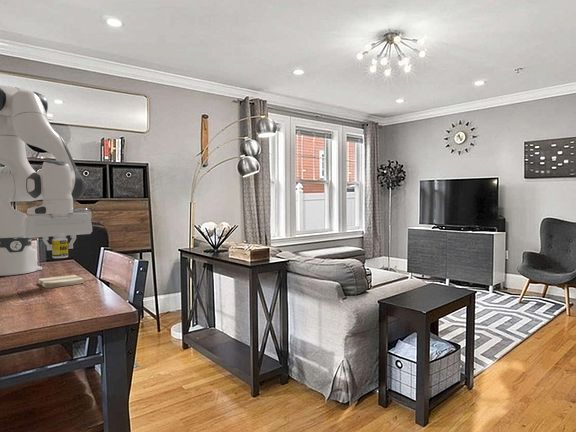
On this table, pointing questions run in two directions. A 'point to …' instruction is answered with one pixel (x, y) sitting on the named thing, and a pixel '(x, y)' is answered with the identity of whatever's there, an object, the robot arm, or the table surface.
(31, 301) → the table surface
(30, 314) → the table surface
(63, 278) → the ash board
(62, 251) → the supplement bottle
